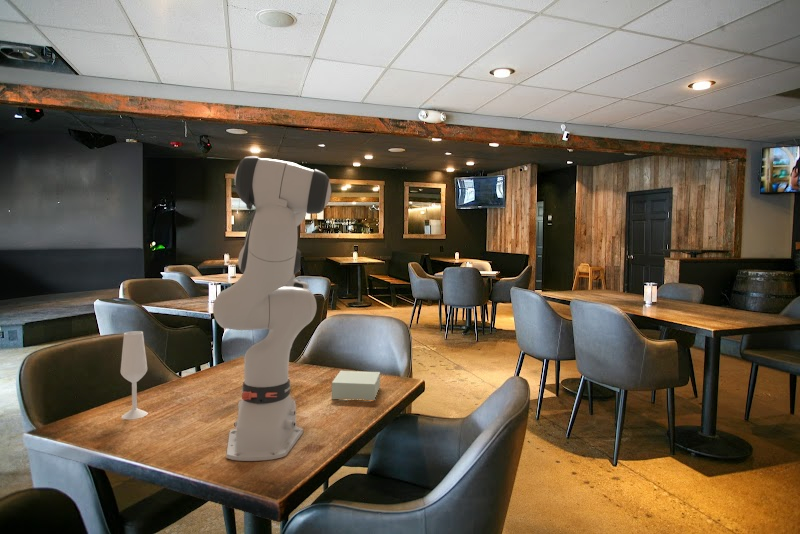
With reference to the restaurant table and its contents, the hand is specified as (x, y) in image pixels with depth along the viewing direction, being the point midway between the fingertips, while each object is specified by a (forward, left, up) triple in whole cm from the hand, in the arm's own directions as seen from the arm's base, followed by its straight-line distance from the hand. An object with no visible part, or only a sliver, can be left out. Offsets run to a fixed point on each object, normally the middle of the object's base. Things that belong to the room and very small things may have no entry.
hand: (281, 326), depth 154 cm
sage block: (0, -25, -23) cm, 34 cm away
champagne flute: (-16, +39, -23) cm, 48 cm away
